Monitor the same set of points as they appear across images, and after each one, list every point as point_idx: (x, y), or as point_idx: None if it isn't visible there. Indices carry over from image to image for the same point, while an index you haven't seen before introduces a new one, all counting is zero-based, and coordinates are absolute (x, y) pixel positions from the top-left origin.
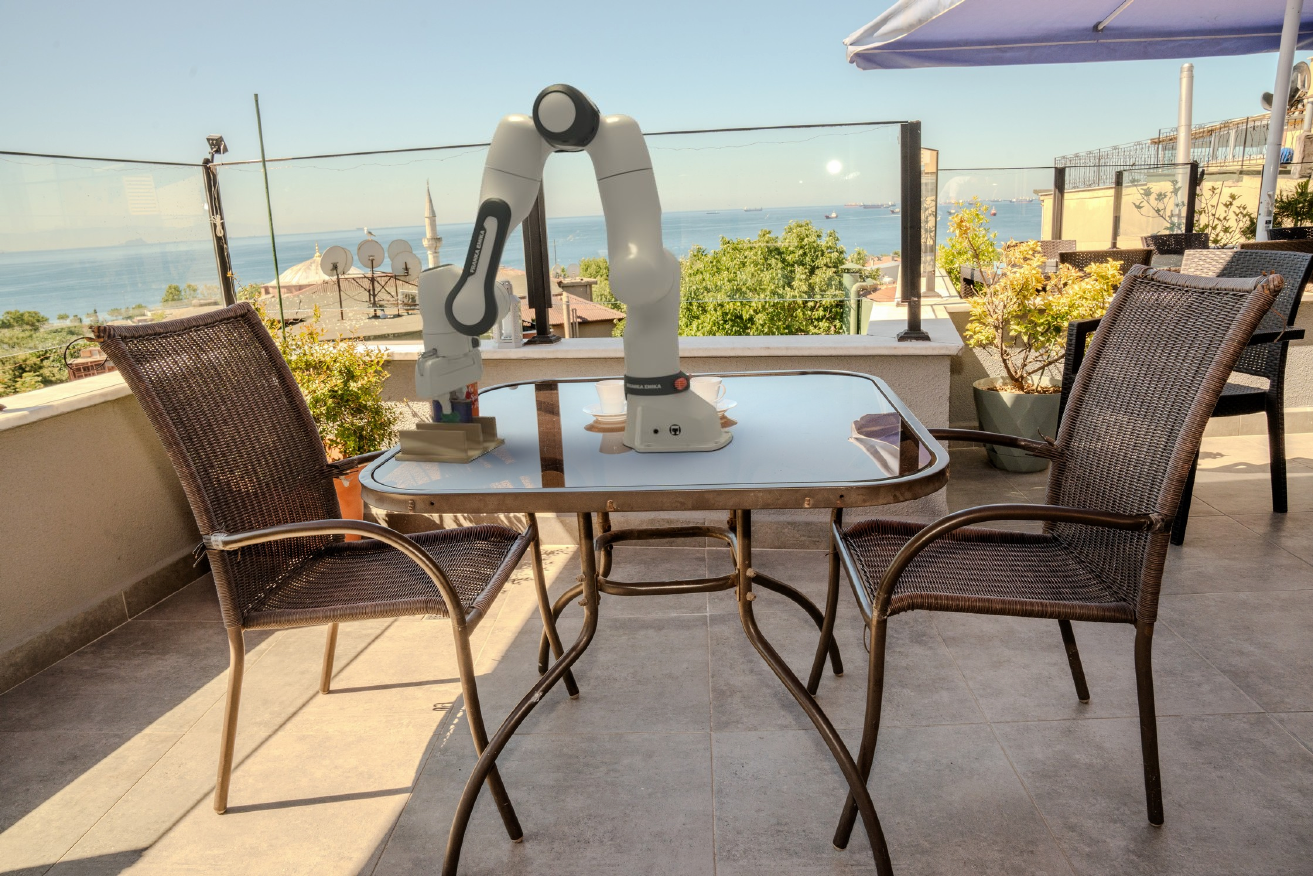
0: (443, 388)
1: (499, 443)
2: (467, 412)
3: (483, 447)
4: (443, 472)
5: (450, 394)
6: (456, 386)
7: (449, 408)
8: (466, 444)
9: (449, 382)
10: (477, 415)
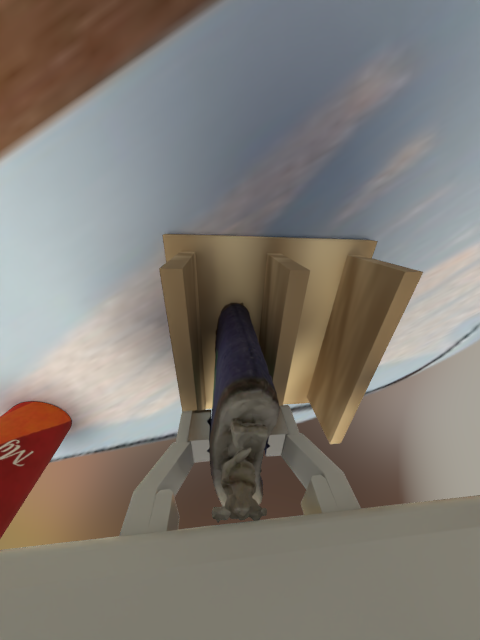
0: (466, 560)
1: (198, 235)
2: (262, 359)
3: (269, 252)
4: (430, 262)
5: (250, 498)
6: (284, 550)
7: (295, 422)
8: (369, 261)
9: (407, 628)
10: (9, 418)
